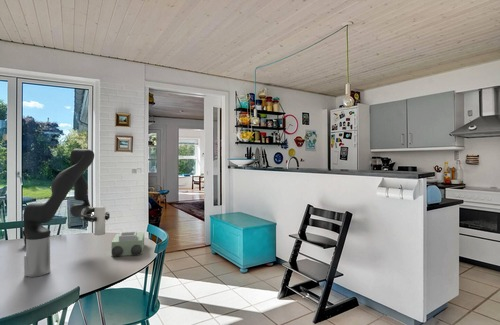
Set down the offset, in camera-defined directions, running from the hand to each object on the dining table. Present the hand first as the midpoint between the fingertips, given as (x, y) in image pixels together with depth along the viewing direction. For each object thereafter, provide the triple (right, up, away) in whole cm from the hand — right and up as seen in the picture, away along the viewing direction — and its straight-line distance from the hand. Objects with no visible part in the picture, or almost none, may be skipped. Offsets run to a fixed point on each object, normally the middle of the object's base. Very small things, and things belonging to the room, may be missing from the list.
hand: (101, 218), depth 151 cm
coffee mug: (-60, -22, +33) cm, 72 cm away
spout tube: (-2, -8, +2) cm, 9 cm away
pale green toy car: (+4, -23, +24) cm, 34 cm away
